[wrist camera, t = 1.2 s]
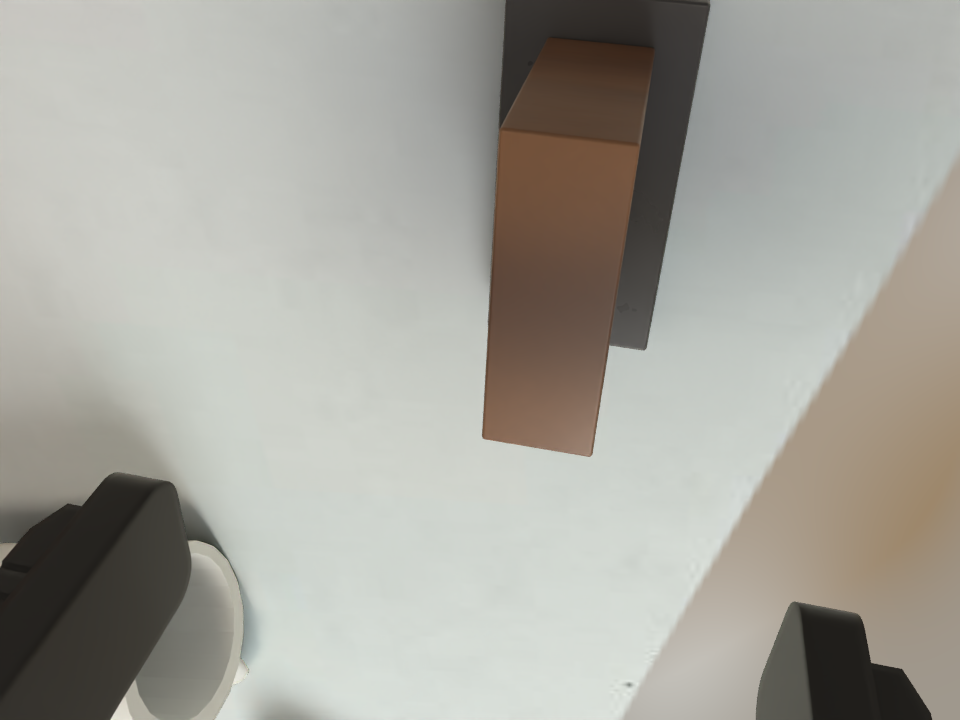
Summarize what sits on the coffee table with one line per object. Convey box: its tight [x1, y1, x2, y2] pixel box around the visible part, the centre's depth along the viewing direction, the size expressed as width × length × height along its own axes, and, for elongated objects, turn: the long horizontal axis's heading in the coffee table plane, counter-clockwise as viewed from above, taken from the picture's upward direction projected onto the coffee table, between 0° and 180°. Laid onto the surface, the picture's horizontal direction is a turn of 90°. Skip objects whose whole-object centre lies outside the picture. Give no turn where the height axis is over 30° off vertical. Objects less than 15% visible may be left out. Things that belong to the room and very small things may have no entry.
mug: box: [0, 540, 249, 720], centre depth 35 cm, size 12×9×12 cm
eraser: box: [482, 0, 710, 457], centre depth 19 cm, size 9×4×7 cm, turn 178°
